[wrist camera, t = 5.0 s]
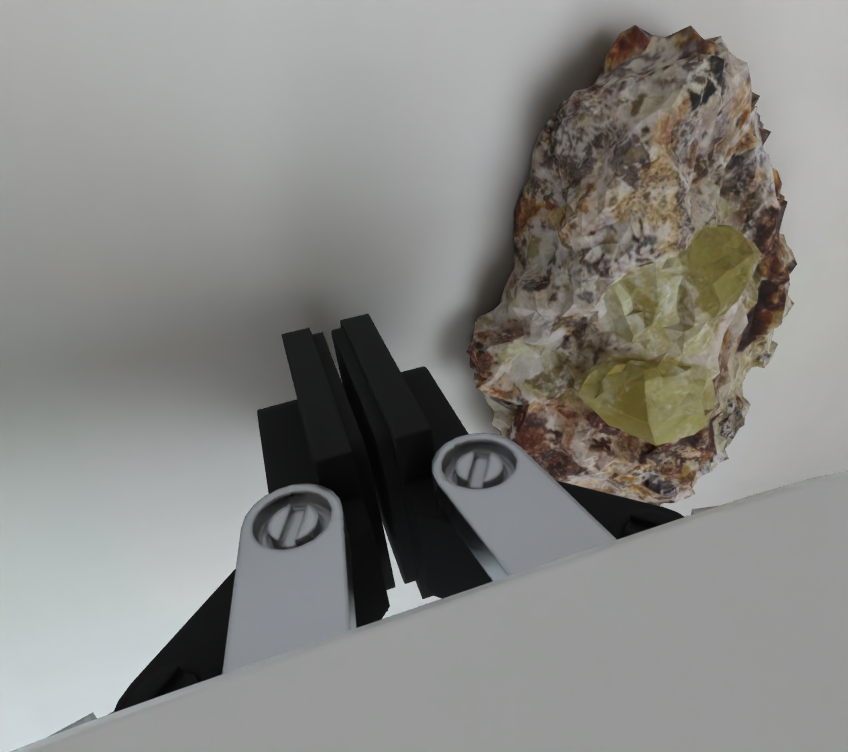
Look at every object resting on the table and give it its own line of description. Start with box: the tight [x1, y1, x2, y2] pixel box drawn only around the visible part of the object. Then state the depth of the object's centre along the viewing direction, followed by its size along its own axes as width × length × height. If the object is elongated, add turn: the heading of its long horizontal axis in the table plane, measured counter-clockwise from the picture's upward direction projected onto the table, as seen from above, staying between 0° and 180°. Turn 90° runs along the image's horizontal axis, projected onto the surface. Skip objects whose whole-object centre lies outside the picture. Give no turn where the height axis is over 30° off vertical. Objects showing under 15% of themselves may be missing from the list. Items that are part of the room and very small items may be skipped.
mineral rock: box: [466, 25, 797, 507], centre depth 13 cm, size 11×4×8 cm
